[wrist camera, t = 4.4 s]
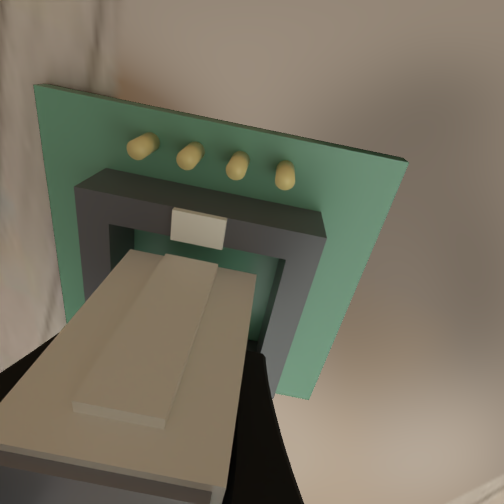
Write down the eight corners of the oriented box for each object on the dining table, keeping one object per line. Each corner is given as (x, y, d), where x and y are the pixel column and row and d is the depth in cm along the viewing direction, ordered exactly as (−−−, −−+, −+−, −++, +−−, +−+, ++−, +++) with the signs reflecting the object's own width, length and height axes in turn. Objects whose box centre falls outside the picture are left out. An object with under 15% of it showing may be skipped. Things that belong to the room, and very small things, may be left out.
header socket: (308, 389, 17) (311, 444, 15) (77, 343, 17) (42, 390, 14) (403, 157, 11) (436, 184, 9) (45, 83, 11) (-24, 89, 8)
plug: (236, 362, 12) (198, 593, 7) (130, 341, 12) (9, 556, 7) (258, 266, 10) (226, 492, 5) (130, 240, 10) (-47, 439, 5)
